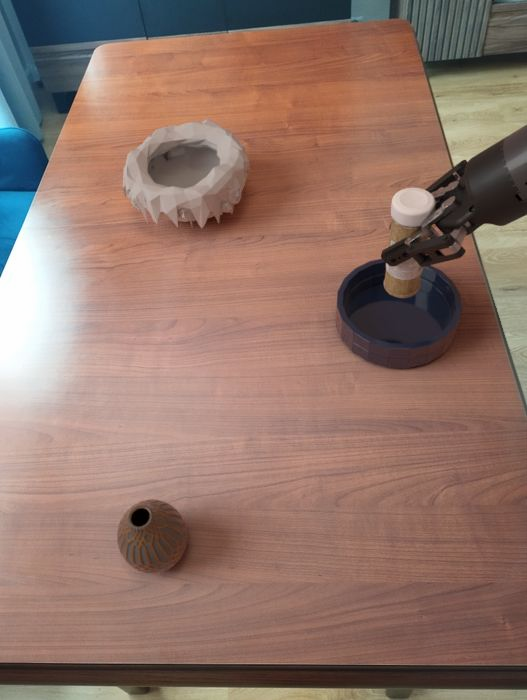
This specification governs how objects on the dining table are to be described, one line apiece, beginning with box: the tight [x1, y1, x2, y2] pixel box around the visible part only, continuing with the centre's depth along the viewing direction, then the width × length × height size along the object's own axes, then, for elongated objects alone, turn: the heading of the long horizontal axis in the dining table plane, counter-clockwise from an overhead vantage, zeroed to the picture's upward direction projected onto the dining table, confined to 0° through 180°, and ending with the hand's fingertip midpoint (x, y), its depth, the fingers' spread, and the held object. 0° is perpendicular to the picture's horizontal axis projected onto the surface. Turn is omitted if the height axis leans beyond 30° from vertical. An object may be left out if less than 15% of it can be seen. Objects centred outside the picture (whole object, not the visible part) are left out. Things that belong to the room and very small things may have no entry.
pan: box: [335, 258, 463, 369], centre depth 76 cm, size 16×16×4 cm
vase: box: [116, 498, 189, 574], centre depth 59 cm, size 7×7×9 cm
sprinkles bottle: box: [384, 187, 435, 298], centre depth 67 cm, size 5×5×13 cm
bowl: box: [122, 118, 251, 229], centre depth 93 cm, size 21×20×10 cm
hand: (390, 245), depth 68 cm, fingers closed on sprinkles bottle, 4 cm apart
